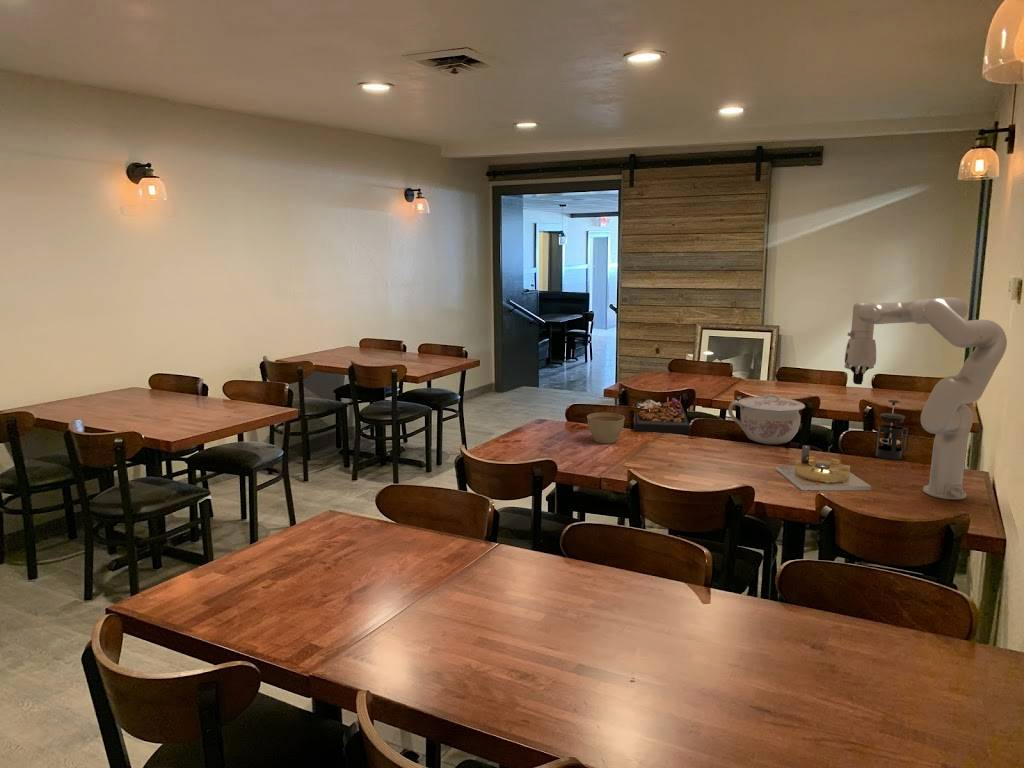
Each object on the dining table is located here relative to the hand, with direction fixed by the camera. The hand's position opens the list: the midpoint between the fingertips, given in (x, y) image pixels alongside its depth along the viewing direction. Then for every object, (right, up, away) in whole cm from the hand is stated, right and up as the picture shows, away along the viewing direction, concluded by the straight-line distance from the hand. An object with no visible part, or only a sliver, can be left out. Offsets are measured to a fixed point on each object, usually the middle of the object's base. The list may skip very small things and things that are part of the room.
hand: (857, 383), depth 272 cm
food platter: (-59, -19, +77) cm, 99 cm away
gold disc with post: (-19, -33, -12) cm, 40 cm away
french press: (+21, -29, +17) cm, 40 cm away
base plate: (-19, -35, -12) cm, 41 cm away
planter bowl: (-90, -25, +41) cm, 102 cm away
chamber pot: (-19, -25, +41) cm, 52 cm away
